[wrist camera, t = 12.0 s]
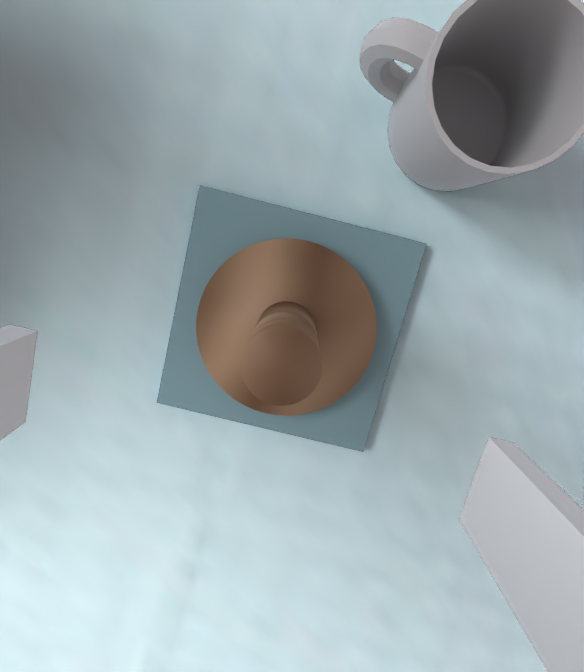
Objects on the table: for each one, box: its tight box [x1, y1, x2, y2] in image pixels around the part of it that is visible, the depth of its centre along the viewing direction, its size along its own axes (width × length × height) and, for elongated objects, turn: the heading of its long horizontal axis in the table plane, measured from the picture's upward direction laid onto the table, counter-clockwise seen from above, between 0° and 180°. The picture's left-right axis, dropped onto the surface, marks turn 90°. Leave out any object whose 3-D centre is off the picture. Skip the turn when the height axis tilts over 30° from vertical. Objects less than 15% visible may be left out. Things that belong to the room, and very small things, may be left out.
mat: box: [157, 186, 426, 452], centre depth 30 cm, size 14×14×1 cm
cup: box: [360, 0, 584, 191], centre depth 23 cm, size 7×10×9 cm
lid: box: [196, 238, 377, 416], centre depth 25 cm, size 11×11×9 cm
